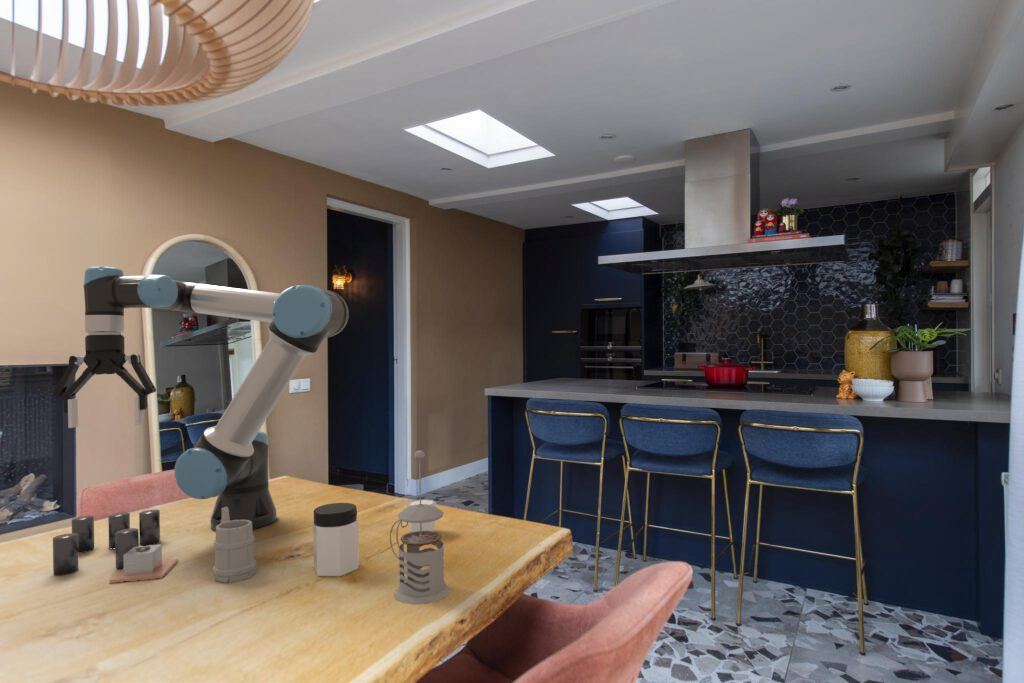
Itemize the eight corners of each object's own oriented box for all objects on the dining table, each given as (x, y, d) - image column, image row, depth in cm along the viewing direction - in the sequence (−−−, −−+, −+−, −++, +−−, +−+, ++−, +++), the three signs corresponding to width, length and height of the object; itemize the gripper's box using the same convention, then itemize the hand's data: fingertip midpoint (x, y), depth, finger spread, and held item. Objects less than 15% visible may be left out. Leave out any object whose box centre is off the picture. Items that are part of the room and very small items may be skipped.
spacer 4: (142, 561, 123) (141, 527, 123) (134, 568, 119) (133, 533, 119) (120, 563, 122) (120, 529, 122) (112, 570, 118) (111, 535, 118)
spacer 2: (97, 545, 133) (97, 514, 133) (89, 551, 129) (88, 519, 129) (77, 547, 132) (77, 516, 132) (68, 553, 128) (67, 521, 128)
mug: (219, 586, 108) (218, 521, 108) (202, 569, 117) (201, 509, 117) (262, 575, 113) (261, 513, 114) (242, 559, 122) (241, 501, 122)
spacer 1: (82, 566, 120) (81, 532, 120) (72, 574, 116) (71, 538, 116) (59, 568, 119) (59, 534, 119) (49, 576, 115) (48, 540, 115)
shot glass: (401, 535, 135) (400, 505, 135) (417, 527, 142) (416, 497, 142) (427, 538, 133) (427, 507, 133) (442, 529, 139) (441, 500, 139)
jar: (362, 572, 114) (361, 510, 114) (318, 580, 110) (317, 516, 110) (353, 558, 122) (352, 500, 122) (312, 565, 118) (310, 505, 118)
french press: (425, 608, 97) (422, 457, 97) (374, 594, 103) (371, 452, 104) (461, 587, 106) (458, 447, 106) (412, 575, 112) (409, 443, 112)
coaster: (177, 561, 122) (177, 558, 122) (162, 578, 113) (162, 575, 113) (129, 566, 120) (129, 563, 120) (109, 583, 111) (109, 580, 111)
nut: (162, 564, 119) (161, 543, 119) (152, 573, 114) (152, 551, 114) (134, 566, 118) (134, 545, 118) (123, 576, 113) (123, 553, 113)
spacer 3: (133, 542, 135) (132, 511, 135) (125, 547, 131) (125, 516, 131) (113, 543, 134) (113, 513, 134) (105, 549, 130) (105, 518, 130)
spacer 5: (162, 539, 137) (162, 508, 137) (156, 544, 133) (155, 513, 133) (143, 540, 136) (143, 510, 136) (136, 546, 132) (136, 515, 132)
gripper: (169, 333, 143) (171, 421, 143) (52, 335, 138) (53, 426, 137) (158, 332, 136) (160, 424, 136) (33, 334, 130) (35, 430, 130)
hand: (106, 425), depth 136 cm, fingers open, 13 cm apart
